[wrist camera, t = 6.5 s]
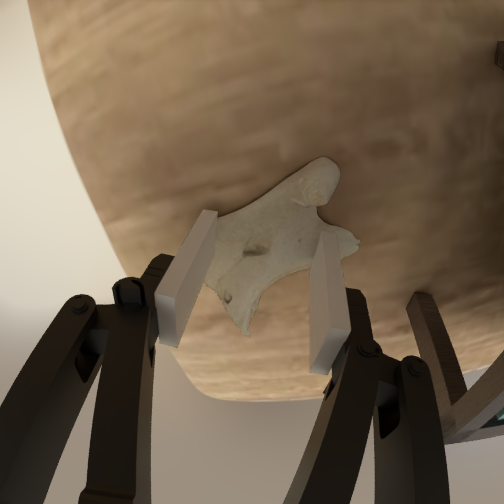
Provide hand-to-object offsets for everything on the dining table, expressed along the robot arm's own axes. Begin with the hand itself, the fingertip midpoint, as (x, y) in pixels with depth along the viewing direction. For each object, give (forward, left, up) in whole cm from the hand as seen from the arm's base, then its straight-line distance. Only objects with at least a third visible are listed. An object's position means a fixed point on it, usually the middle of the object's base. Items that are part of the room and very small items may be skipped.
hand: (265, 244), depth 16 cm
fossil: (-1, +1, -3) cm, 3 cm away
